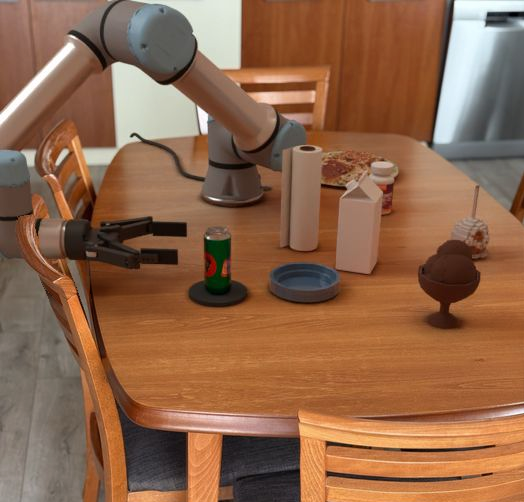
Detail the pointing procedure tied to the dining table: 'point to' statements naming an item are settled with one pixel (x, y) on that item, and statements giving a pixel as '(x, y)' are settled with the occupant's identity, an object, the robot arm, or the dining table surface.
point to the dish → (304, 282)
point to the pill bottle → (383, 183)
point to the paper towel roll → (300, 197)
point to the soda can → (217, 260)
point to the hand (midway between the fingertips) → (182, 242)
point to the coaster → (207, 299)
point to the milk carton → (359, 226)
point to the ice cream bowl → (449, 279)
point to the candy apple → (473, 232)
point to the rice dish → (348, 166)
